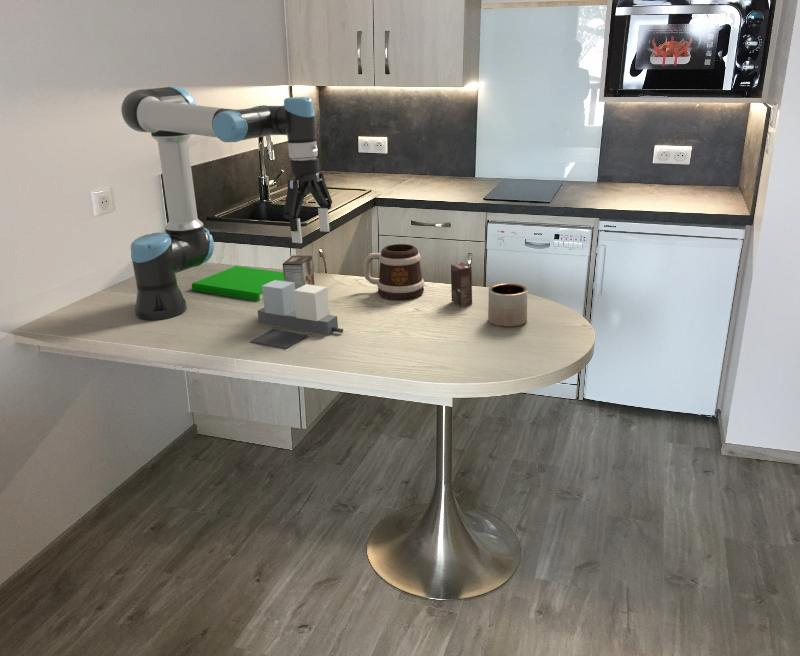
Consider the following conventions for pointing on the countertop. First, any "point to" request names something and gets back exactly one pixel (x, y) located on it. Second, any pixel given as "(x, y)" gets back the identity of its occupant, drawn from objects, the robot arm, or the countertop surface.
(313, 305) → the block
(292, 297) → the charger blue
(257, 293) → the book
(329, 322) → the power strip
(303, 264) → the coffee box
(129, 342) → the countertop surface
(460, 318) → the countertop surface
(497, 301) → the planter
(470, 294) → the box
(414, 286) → the mug
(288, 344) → the mat
